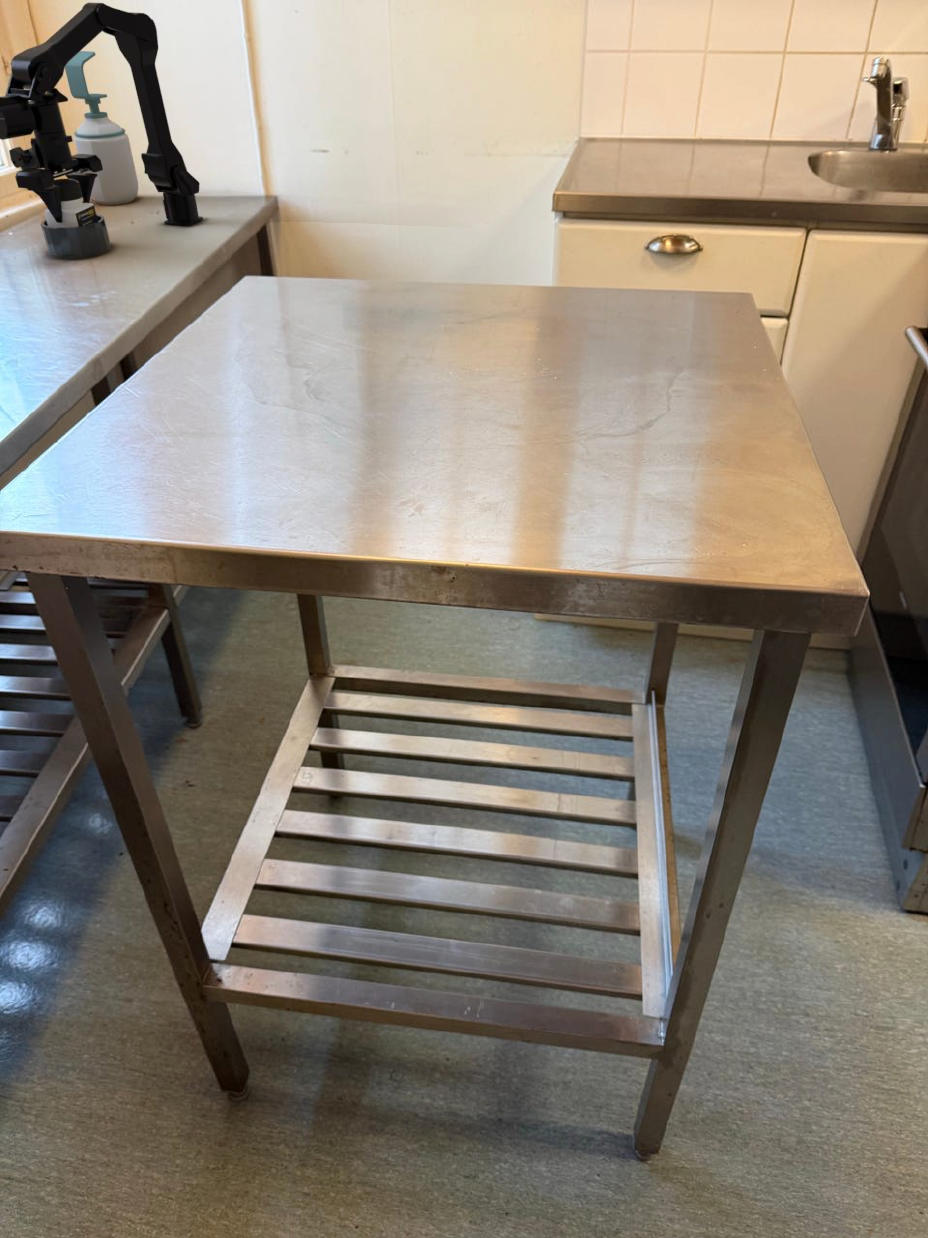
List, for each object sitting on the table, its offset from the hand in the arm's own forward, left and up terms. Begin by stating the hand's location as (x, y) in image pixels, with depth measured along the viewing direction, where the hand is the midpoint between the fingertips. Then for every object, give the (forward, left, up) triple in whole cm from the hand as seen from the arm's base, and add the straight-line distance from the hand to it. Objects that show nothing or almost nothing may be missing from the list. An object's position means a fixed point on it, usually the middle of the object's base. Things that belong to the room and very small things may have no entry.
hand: (72, 217), depth 181 cm
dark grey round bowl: (0, 0, -7) cm, 7 cm away
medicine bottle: (0, 0, -5) cm, 5 cm away
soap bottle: (+22, -40, -7) cm, 46 cm away
